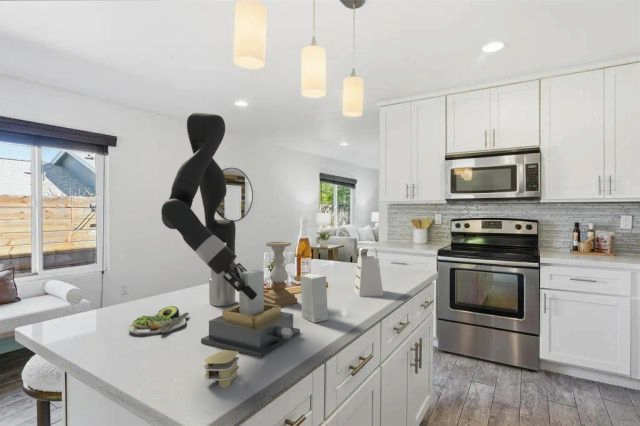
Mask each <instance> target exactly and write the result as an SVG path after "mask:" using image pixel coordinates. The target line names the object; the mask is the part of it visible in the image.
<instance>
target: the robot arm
mask: <svg viewBox="0 0 640 426" xmlns="http://www.w3.org/2000/svg"><path fill="white" fill-rule="evenodd" d="M225 123H226V122H225V119H224V118H223V117H222V115H218V114H212V113H205V112H204V113H202V112H191V113H190V114H189V115H188V116H187V120H186V131H187V137H188V140H189V144H190V147H191V151H192V155H191V156H190V157H188V159H186V160H185V161H184V162H183V163H182V164H181V166H180V167H179V169H178V170H177V172H176V175H175V178H174V179H173V182H172V186H171V191H170V196H169V197H168V200H166V201H165V202H164V203H163V205H162V206H161V221H162V224H163V225H164V226H165V227H166V228H167V229H170V230H176V231H178V233H179V234H180V235H181V236H182V238H183V241H184V243H186V244H187V246H189V247H190V249H192V250H193V251H194V252H195V254H196V255H197V256H198V257H199V258H200V259H201V261H203V262H204V264H206V265H207V266H208V268H210V279H208V282H209V283H208V286H209V287H208V289H209V290H208V291H209V292H208V293H209V294H208V295H209V297H208V299H209V303H208V304H210V305H212V306H213V307H226V306H232V305H234V304H235V303H236V292H238V293H239V291H241V292H243V293H244V294H245V295H247V296H248V297H249V298H250V299H251V300H253V299H254V298H255V297H256V296H257V293H256V292H255V291H254V290H253V289H252V288H251V287H250V286H249V285H248V284H247V283H246V281H245V277H244V276H243V275H242V273H241V272H246V271H248V270H247V269H246V268H245V267H244V266H243V265H242V264H241V263H240V262H237V264H236V258H237V255H236V229H237V228H236V223H235V221H234V220H233V219H216V218H215V215H216V212H217V210H218V209H219V207H220V205H221V204H222V202H223V200H225V197H226V196H227V193H228V192H227V181H226V177H225V173H224V171H223V170H222V168H221V167H220V165H219V164H218V163H217V161H216V160H215V159H214V156H215V154H216V153H217V151H218V149H219V147H220V146H221V143H222V141H223V139H224V136H225V133H226V124H225ZM198 190H199V192H200V196H201V202H202V206H203V212H204V221H205V224H203V223H202V221H201V220H200V219H199V217H198V216H197V215H196V213H195V212H194V211H193V209H192V206H193V202H194V199H195V197H196V195H197V192H198Z"/></svg>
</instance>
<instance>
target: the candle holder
mask: <svg viewBox="0 0 640 426" xmlns="http://www.w3.org/2000/svg"><path fill="white" fill-rule="evenodd" d="M265 246H266V247H268V248H269V247H270V248H271V250H272V251H273V257H272V258H271V260H272V262H273V263H274V266H273V268H272V270H271V271H270V273H269V279H270V281H271V282H272V283H271V284H270V287H271V289H270V291H268V292H264V303H266V304H273V305H279V306H281V307H286V306H290V305H294V304H298V298H297V297H296V295H295V294H294V293H292V292H289V290H288V289H286V288H287V283H286V281H287V280H288V277H289V275H288V272H287V270H286V269H285V266H284V262H285V260H286V257H285V256H284V251H285V250H286V247H290V246H292V242H289V241H270V242H269V241H268V242H266V243H265Z"/></svg>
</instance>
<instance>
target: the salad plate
mask: <svg viewBox="0 0 640 426" xmlns="http://www.w3.org/2000/svg"><path fill="white" fill-rule="evenodd" d="M189 314H190V312H184V313H182V312H180V309H179V308H178V307H177V306H174V305H170V306H166V307H163V308H161V309H160V310H159V311H158V312H157V313H156V314H154V315H142V316H138V317H137V318H134V319H132V320H131V321H130V322H129V327H128V332H129V333H130V334H133V335H136V336H141V337H142V336H152V335H154V336H155V335H161V334H165V333H169V332H173V331H175V330H179V329H180V328H182V327H183V326H185V324H186V323H187V321H186V318H187V316H188V315H189ZM138 329H150V331H139V330H138Z"/></svg>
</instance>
